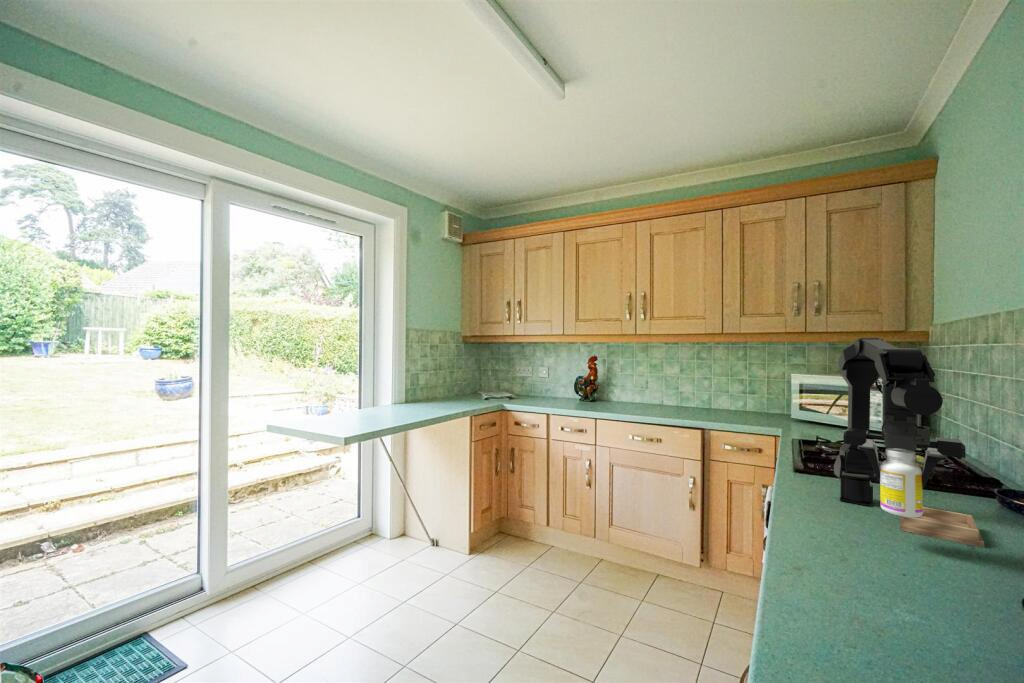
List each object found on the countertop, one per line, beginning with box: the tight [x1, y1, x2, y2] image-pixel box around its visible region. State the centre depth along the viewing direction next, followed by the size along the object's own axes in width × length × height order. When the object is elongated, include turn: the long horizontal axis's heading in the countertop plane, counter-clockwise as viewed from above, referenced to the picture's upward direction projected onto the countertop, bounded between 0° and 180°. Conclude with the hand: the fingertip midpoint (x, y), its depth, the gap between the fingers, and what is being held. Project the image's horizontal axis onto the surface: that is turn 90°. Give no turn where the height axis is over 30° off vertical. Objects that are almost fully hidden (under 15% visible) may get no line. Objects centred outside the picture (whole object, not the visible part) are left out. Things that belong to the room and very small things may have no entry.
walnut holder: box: [899, 506, 985, 548], centre depth 100 cm, size 13×13×3 cm
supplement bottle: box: [879, 447, 924, 517], centre depth 92 cm, size 7×7×13 cm
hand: (900, 483), depth 92 cm, fingers closed on supplement bottle, 7 cm apart
